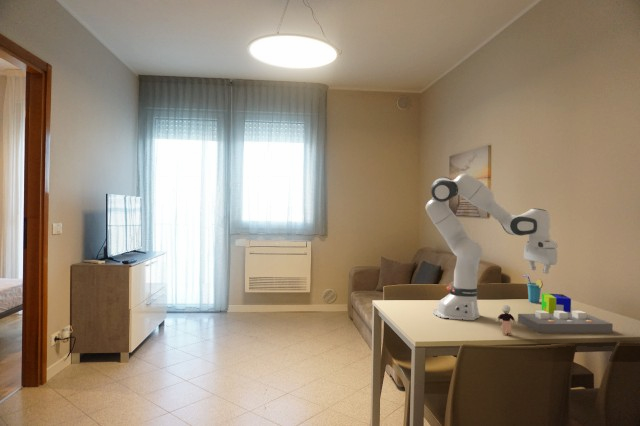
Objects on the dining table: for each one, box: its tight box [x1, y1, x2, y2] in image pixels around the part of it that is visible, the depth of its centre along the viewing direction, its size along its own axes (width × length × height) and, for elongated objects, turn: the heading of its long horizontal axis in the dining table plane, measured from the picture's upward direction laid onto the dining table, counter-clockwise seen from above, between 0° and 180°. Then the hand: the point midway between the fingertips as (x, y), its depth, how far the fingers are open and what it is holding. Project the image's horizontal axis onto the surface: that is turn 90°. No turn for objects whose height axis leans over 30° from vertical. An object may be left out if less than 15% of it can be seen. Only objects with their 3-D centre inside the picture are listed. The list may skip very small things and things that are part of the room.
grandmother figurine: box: [495, 304, 517, 336], centre depth 169 cm, size 8×4×13 cm, turn 92°
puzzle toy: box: [541, 292, 572, 314], centre depth 201 cm, size 10×10×10 cm
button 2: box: [571, 310, 587, 319], centre depth 183 cm, size 4×4×3 cm
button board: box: [517, 313, 614, 334], centre depth 181 cm, size 34×16×4 cm, turn 93°
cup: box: [522, 274, 544, 304], centre depth 229 cm, size 14×8×15 cm, turn 24°
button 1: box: [534, 310, 549, 319], centre depth 182 cm, size 4×4×3 cm
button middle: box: [554, 311, 568, 319], centre depth 183 cm, size 4×4×3 cm
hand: (539, 271), depth 186 cm, fingers open, 8 cm apart
